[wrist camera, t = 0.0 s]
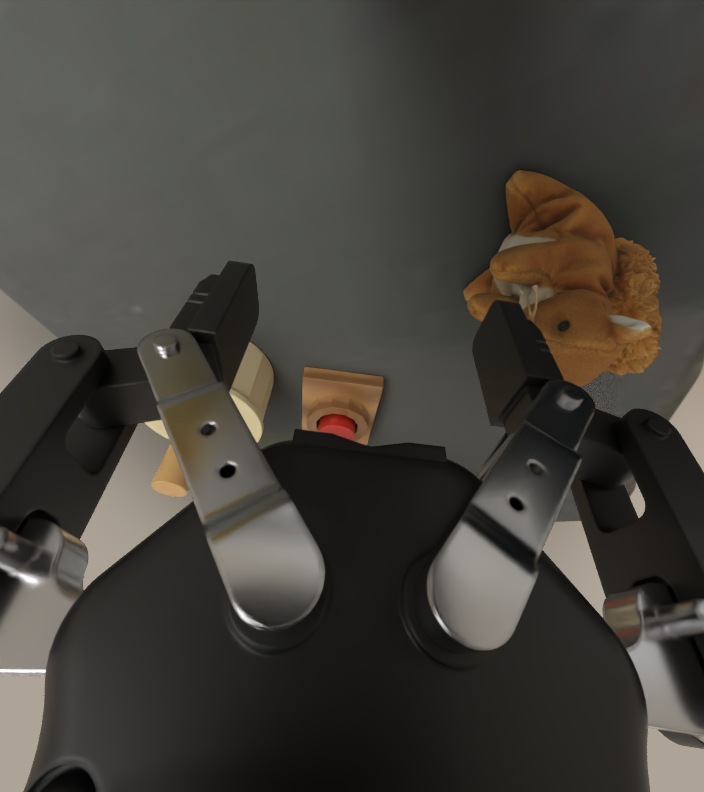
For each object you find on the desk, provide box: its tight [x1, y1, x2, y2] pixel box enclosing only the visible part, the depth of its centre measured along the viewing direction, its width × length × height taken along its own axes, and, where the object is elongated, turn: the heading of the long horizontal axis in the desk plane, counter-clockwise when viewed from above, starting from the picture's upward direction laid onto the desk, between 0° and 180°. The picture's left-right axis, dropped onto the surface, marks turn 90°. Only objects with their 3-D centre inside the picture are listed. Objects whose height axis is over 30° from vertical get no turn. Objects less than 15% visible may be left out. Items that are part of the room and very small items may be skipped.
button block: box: [302, 367, 383, 445], centre depth 42 cm, size 12×9×4 cm
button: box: [318, 414, 355, 441], centre depth 41 cm, size 4×4×2 cm
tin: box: [231, 342, 274, 421], centre depth 37 cm, size 12×12×7 cm
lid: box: [144, 389, 263, 497], centre depth 32 cm, size 13×13×9 cm
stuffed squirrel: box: [463, 170, 662, 387], centre depth 23 cm, size 10×14×13 cm
